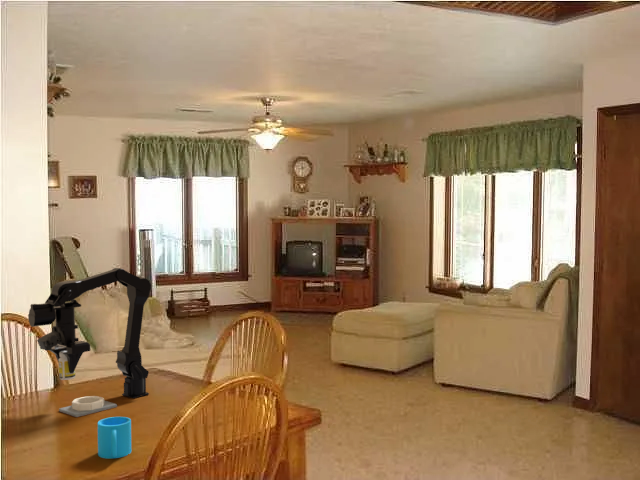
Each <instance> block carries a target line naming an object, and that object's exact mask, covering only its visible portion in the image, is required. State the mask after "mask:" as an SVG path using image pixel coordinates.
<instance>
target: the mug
mask: <svg viewBox="0 0 640 480" xmlns="http://www.w3.org/2000/svg"><path fill="white" fill-rule="evenodd" d="M128 454H129V455H130V454H132V419H131V418H130V417H127V416H112V417H111V416H110V417H106V418H101V419H100V420H98V422H97V455H98V457H100V458H102V459H118V458H123V457H124V458H125V457H127V456H129V455H128Z"/></svg>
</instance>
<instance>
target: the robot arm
mask: <svg viewBox="0 0 640 480" xmlns="http://www.w3.org/2000/svg"><path fill="white" fill-rule="evenodd" d="M116 282H118V283H119V284H121V285H122V286H124V287H125V288H126V296H127V299H128V303H129V306H128V315H127V316H128V317H127V320H126V322H127V323H126V331H125V340H124V346H123V347H122V350H117V351H116V360H115V363H116V367H117V369H118V370H119V371H120V372H122V376H124V382H123V393H122V394H121V395H122V396H124V397H127V398H131V399H136V398H139V397H144V396H148V395H149V394H150V393H149V392H147V387H146V386H147V382H146V381H147V380H146V379H147V378H148V376H149V374H150V373H149V370H147V368H145V367H144V366H143V364H142V363H143V360H142V354H141V350H140V339H141V333H142V325H143V324H142V323H143V317H144V309H145V308H144V307H145V304H146V303H147V301H148V299H149V297H150V293H151V291H152V290H151V289H152V282H150V280H149V279H147V278H145V277H138V276H137V275H135V274H133V273H130V272H129V271H127V270H125V269H124V268H119V267H114V268H112V269H110V270H108V271H103V272H101V273H98V274H94V275H91V276H88V277H85V278H81V279H76V280H66V281H64V280H63V281H58V282H56V283H54V285H53V287H52V288H51V293H50V294H49V296H48V297H47V299H46V300H45V302H44V303H31V304H30V308H29V311H28V315H27V317H28V322H29V323H28V324H29V325H30V327H32V328H33V327H34V328H35V327H41V326H49V325H53V322H55V325H53V326H52V328H51V329H52V330H51V332H49V333H46V334H44V335H43V336H41V337H39V338H38V339H37V340H36V341H37V343H38V346H39V348H40V350H44V351H45V352H46V351H49V352H51V353H53V354H54V355H55V356H54V357H56V361H57V362H58V360H59V358H60V356H59V353H60V352H62V351H67V352H65V353H63V354H64V355H65V356H66V357H67V360H68V366H69V372H70V373H74V370H75V371H76V367H77V365H78V364H79V361H80V359H81V358H82V355H83V353H85V352H86V353H87V352H91V344H90V343H89V342H88V341H84V340H80V339H79V337H77V335H76V329H78V328H79V325H78V324H76V318H75V317H76V315H75V308H81V307H82V304H81V303H80V302H78V301H77V300H76V299H77V298H79V297H80V296H82V295H83V294H85V293H87V292H88V291H92V290H94V289H98V288H101V287H104V286H107V285H110V284H114V283H116ZM58 364H59V362H58Z"/></svg>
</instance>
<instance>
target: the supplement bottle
mask: <svg viewBox="0 0 640 480" xmlns="http://www.w3.org/2000/svg"><path fill="white" fill-rule="evenodd" d="M65 352H67V351H62V352H60V353H59V356H60V358H59V360H57V362H59V363H58V376H59V380H61V381H69V380H73V379H75V378H76V369H75V370H74V373H70V372H69V366H68V360H67V357H66V356H65V355H64V354H63V353H65Z"/></svg>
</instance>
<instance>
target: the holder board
mask: <svg viewBox="0 0 640 480" xmlns="http://www.w3.org/2000/svg"><path fill="white" fill-rule="evenodd" d="M113 408H118V405H117V403H115V402H112V401H111V402H110V401H107V400H105V398H104V397H102V396H98V395H90V396H89V395H88V396H82V397H77V398H74V399H73V400H72V401H71V405H67V406H64V407H59V408H58V412H60V413H63V414H67V415H69V416H72V417H75V418H78V417H82V416H86V415H87V416H88V415H91V414H95V413H98V412H102V411H106V410H111V409H113Z"/></svg>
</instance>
